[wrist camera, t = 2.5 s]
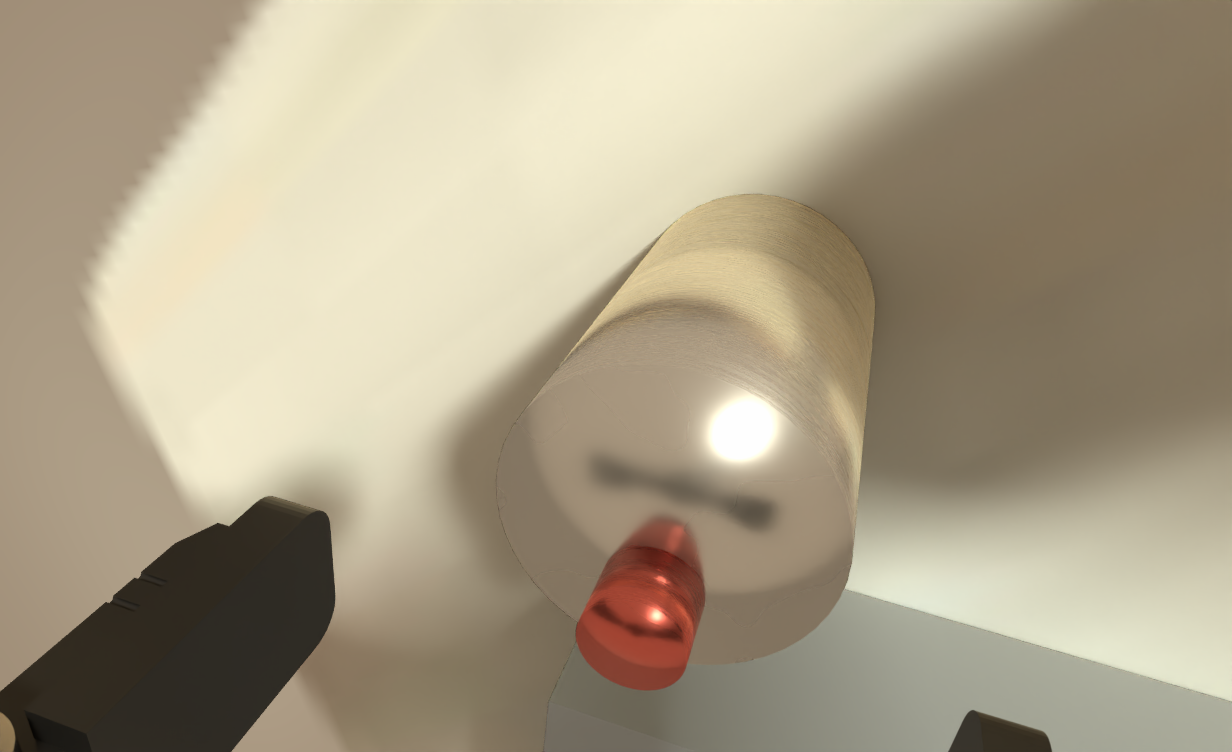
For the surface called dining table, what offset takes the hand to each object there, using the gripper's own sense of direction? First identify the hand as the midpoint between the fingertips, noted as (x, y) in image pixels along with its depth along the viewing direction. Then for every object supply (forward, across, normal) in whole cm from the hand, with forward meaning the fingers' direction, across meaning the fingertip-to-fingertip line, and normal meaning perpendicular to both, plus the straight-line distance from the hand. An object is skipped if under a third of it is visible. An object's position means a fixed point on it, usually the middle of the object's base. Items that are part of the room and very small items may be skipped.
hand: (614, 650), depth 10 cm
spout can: (+10, 0, 0) cm, 10 cm away
